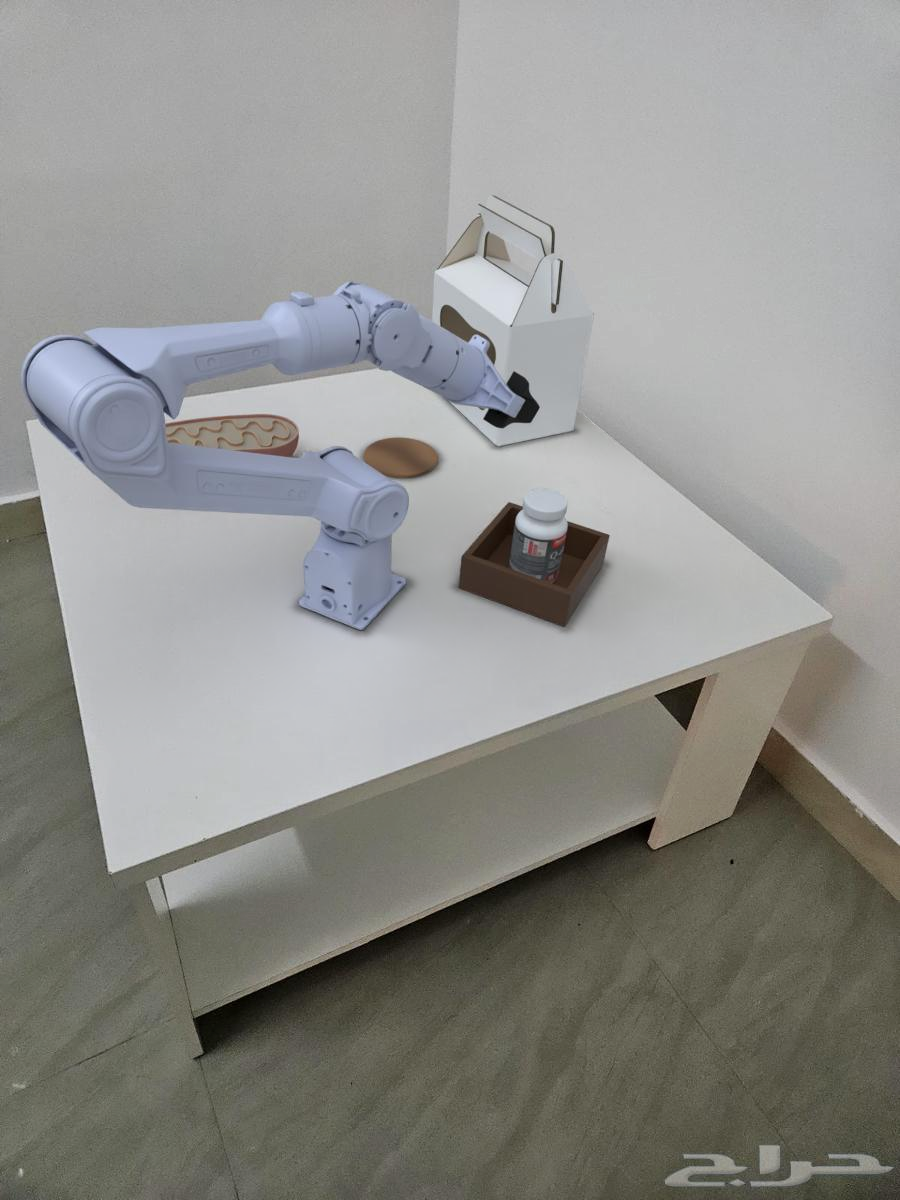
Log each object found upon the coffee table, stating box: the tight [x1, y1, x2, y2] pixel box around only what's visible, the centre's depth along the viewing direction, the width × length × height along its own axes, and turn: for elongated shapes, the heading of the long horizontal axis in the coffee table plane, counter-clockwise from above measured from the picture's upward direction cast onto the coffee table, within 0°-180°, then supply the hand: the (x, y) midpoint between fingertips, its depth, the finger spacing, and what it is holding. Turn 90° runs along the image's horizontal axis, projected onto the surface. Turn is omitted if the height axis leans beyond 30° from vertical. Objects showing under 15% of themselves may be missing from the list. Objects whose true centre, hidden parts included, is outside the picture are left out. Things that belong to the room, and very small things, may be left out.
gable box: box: [431, 194, 595, 447], centre depth 116 cm, size 22×13×28 cm, turn 27°
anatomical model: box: [165, 413, 300, 458], centre depth 104 cm, size 23×10×5 cm, turn 112°
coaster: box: [363, 437, 438, 479], centre depth 111 cm, size 10×10×1 cm
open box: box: [458, 501, 611, 628], centre depth 91 cm, size 13×13×4 cm
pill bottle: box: [509, 487, 568, 584], centre depth 89 cm, size 6×6×10 cm
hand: (508, 398), depth 90 cm, fingers open, 7 cm apart
